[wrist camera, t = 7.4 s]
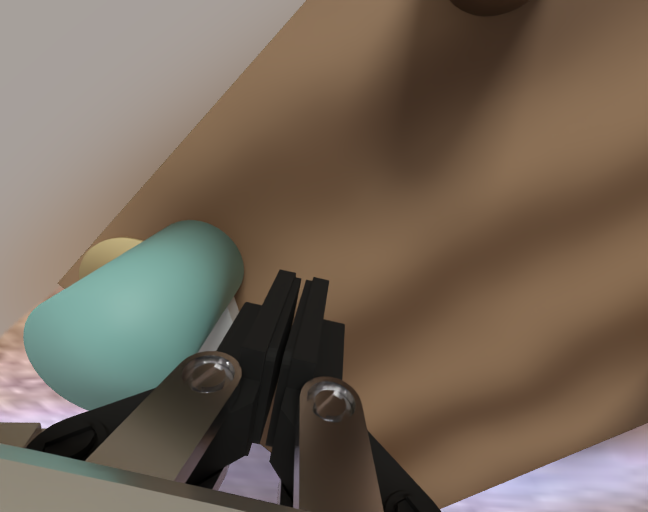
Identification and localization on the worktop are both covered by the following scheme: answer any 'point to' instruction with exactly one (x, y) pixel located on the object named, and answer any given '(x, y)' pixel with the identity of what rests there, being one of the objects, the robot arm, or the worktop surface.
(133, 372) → the cylinder
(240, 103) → the footstool
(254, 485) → the worktop surface
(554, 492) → the worktop surface
